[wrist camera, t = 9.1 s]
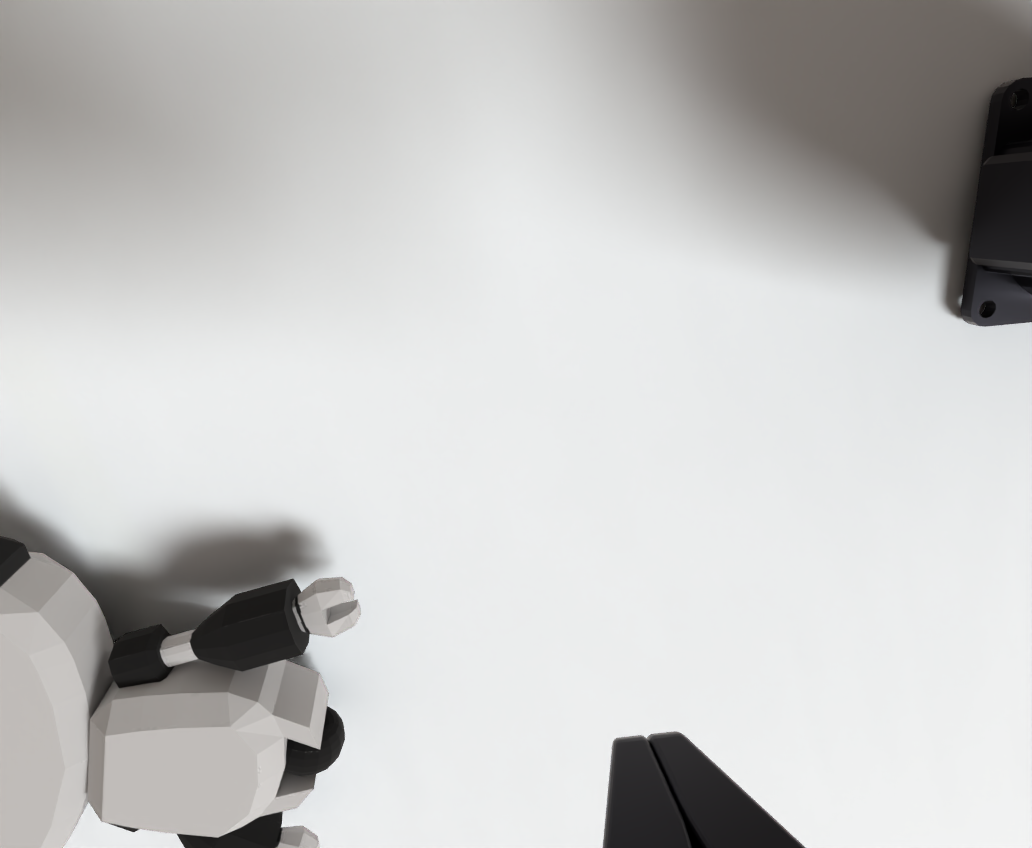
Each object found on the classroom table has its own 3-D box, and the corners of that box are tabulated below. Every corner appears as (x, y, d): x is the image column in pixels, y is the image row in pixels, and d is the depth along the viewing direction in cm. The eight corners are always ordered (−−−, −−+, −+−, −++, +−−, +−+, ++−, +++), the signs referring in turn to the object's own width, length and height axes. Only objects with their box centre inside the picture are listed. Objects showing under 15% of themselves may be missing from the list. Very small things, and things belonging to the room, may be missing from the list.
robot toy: (378, 522, 21) (-178, 454, 18) (372, 603, 17) (-361, 535, 13) (328, 811, 24) (-144, 799, 21) (311, 939, 20) (-281, 949, 17)
